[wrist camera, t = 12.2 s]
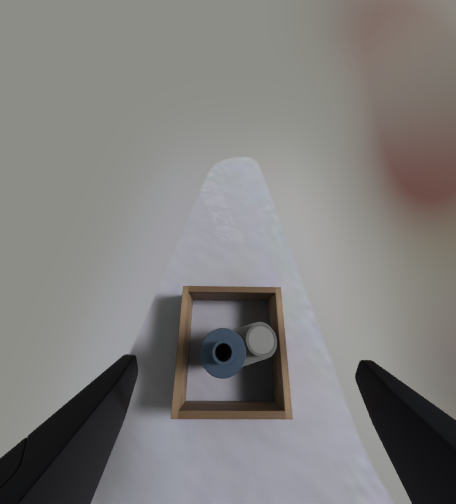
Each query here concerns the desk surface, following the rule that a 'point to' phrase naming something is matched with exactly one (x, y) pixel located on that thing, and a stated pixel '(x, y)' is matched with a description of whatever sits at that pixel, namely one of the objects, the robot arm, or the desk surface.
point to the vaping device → (237, 348)
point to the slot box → (280, 365)
